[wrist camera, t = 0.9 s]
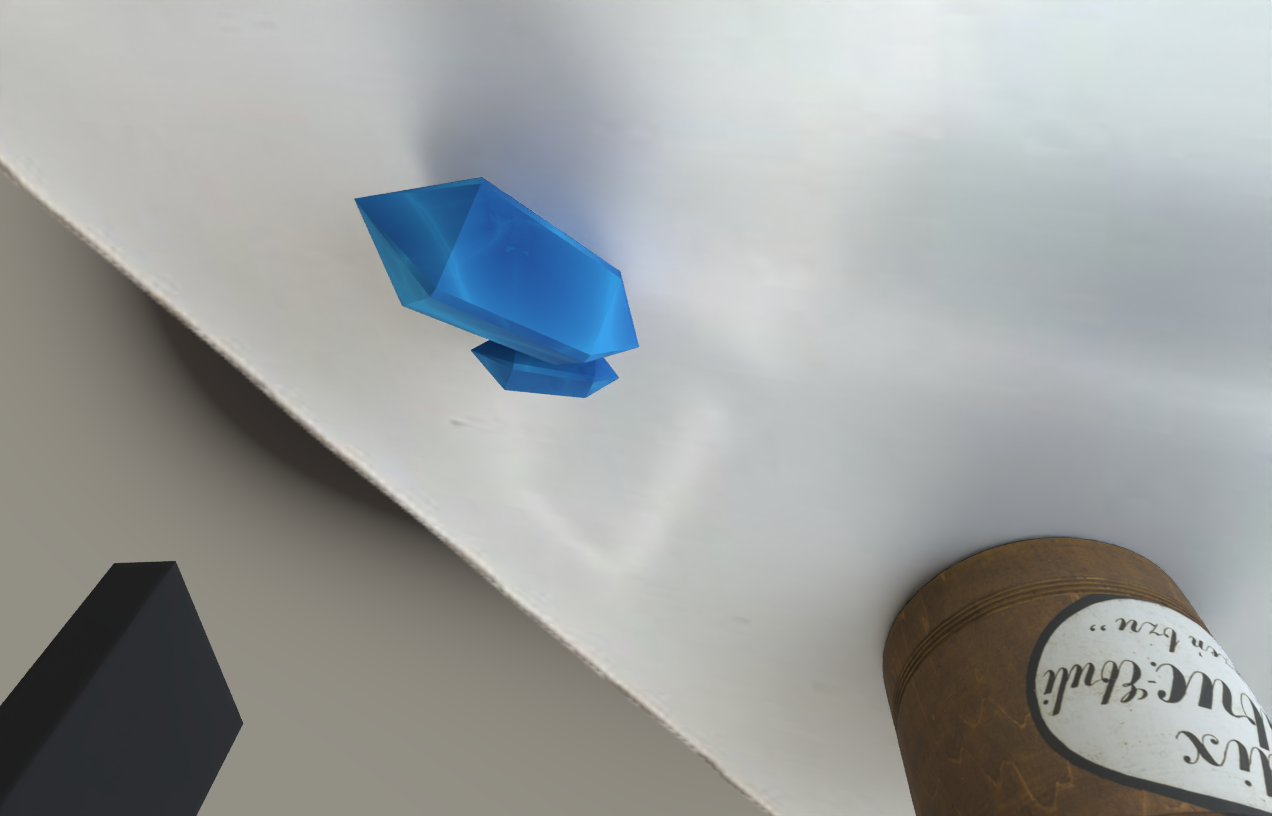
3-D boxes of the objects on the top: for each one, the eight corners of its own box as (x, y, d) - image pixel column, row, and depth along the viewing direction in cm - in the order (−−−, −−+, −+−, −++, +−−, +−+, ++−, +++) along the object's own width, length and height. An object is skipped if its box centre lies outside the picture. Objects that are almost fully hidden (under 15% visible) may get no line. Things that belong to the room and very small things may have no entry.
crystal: (593, 488, 36) (279, 353, 30) (573, 357, 43) (313, 228, 37) (715, 343, 33) (388, 164, 27) (672, 226, 39) (404, 64, 34)
